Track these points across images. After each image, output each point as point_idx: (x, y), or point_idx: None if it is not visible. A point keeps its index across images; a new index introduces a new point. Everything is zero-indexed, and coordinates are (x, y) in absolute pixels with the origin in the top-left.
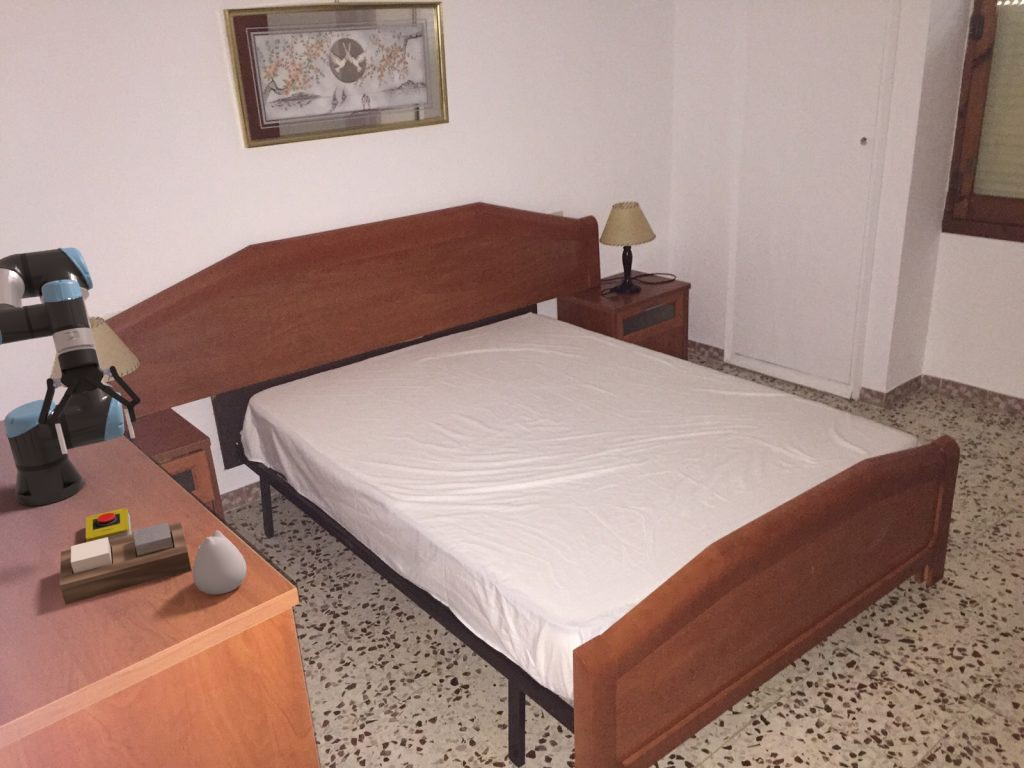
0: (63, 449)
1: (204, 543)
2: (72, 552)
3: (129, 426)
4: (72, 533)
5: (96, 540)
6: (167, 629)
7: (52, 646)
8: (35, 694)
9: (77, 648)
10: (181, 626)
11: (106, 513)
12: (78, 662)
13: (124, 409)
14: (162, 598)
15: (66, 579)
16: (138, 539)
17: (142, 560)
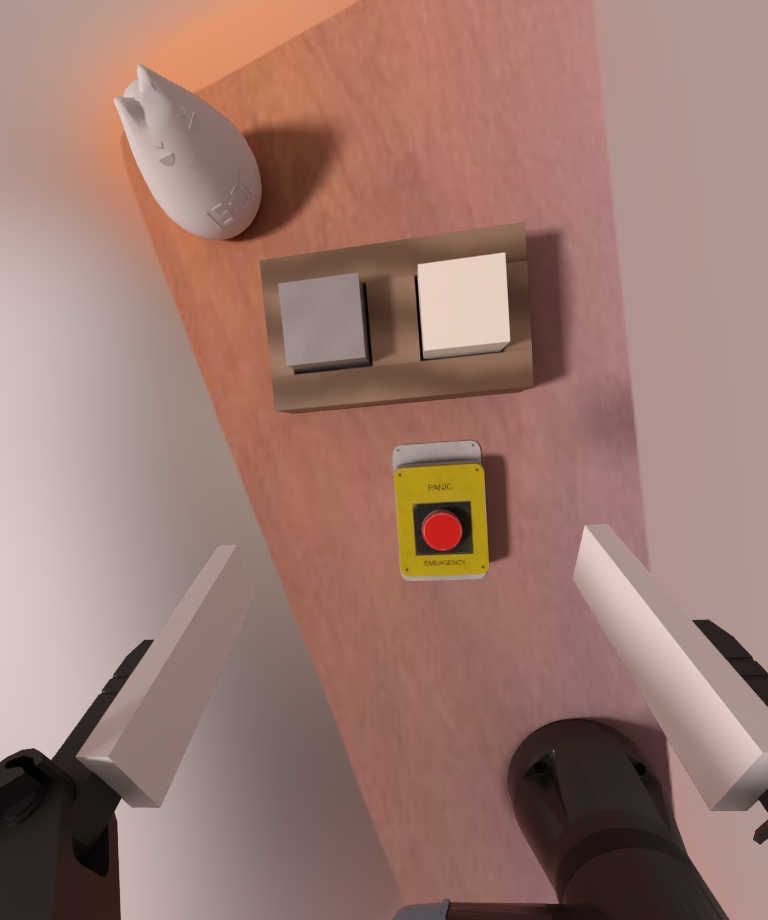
0: (608, 540)
1: (161, 78)
2: (504, 304)
3: (194, 601)
4: (516, 550)
5: (450, 345)
6: (320, 82)
7: (522, 103)
8: None
9: (476, 78)
10: (296, 83)
11: (442, 548)
12: (471, 28)
13: (102, 752)
14: (330, 197)
15: (511, 244)
16: (351, 304)
17: (352, 262)
